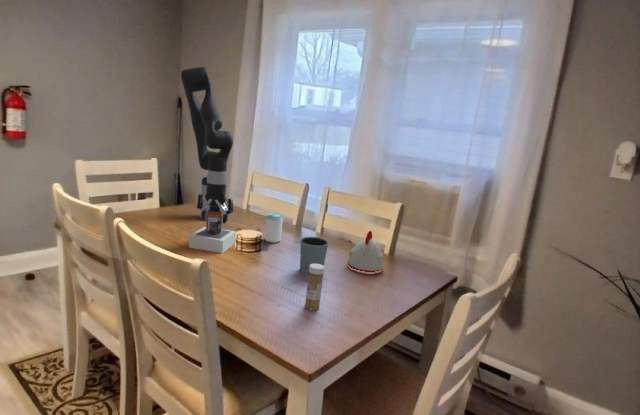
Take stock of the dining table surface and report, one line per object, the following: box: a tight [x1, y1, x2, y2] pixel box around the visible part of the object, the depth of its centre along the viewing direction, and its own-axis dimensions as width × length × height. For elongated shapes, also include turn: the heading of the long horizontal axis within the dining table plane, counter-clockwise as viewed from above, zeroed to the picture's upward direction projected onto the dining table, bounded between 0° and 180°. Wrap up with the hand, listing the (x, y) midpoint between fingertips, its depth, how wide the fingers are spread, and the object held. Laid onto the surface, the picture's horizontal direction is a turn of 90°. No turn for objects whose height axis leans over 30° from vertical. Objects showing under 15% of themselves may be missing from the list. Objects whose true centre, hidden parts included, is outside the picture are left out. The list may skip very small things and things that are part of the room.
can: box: [264, 212, 284, 244], centre depth 183 cm, size 7×7×12 cm
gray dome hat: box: [347, 230, 384, 272], centre depth 163 cm, size 14×14×15 cm
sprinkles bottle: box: [304, 264, 325, 311], centre depth 125 cm, size 5×5×13 cm
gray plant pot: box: [299, 236, 329, 276], centre depth 153 cm, size 10×10×12 cm
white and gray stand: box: [188, 226, 237, 254], centre depth 170 cm, size 14×14×5 cm
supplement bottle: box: [205, 205, 223, 234], centre depth 168 cm, size 6×6×11 cm
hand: (214, 221), depth 168 cm, fingers open, 8 cm apart
